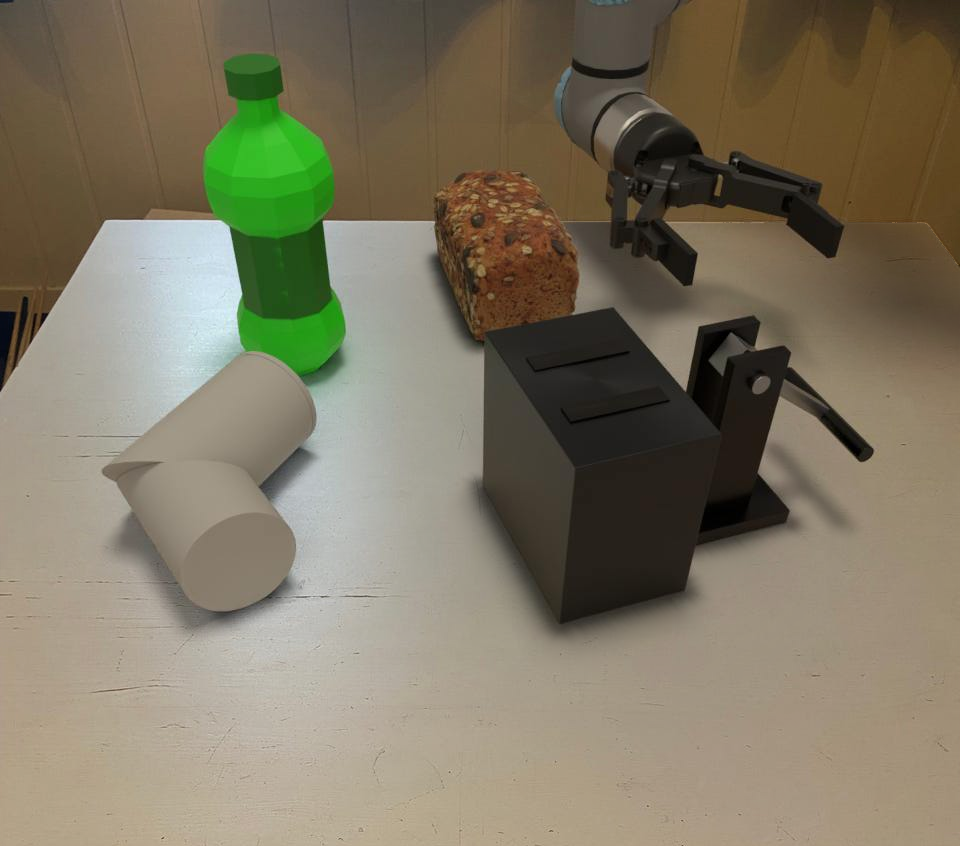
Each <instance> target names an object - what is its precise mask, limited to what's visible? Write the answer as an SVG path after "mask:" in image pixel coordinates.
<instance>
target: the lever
mask: <svg viewBox="0 0 960 846" xmlns="http://www.w3.org/2000/svg"><path fill="white" fill-rule="evenodd" d="M753 351H758V349H757V348H756V346H755V347H754V346H752V345H751V344H749V343H747V342H746V341H744V340H742V339H741V338H739V337H738V336H736V335H734V334H733V333H730V334H729V335H728V336H727V338H726V339H725V340H724V341H723V343H722V344H721V345H720V346H719V348H718V349H717V350H716V351H715V353H714V354H713V355H712V356H711V357H710V359H709V360H708V361H709V362H710V363H711V365H712V366H713V367H714V368H715V369H716V370H717V371H718V372H719V373H720V374H721V376H722V377H723V374H724V370H725V365H726V361H727V357H730V356H734V355H739V354H744V353H749V352H753ZM780 397H781V398H782V399H784V400H785V401H787V402H788V403H791V404H792V405H794V406H796V407H797V408H799V409H801V410H803V411H804V412H806V413H807V414H809V415H811V416H813V417H814V418H816V419H817V420H818V422H820V423H821V424H822V426H823V427H825V429H826V430H827V431H828V432H830V434H831V435H832V436H833V437H835V439H836V441H838V442H839V443H840V444H841V445H842V446H843V447H844V449H846V450H847V451H848V452H849V453H850V454H851V455H852V456H853V457H854V458H855V460H856V461H858V462H859V463H865V462H867V461H869V460H870V459H871V458H872V457H873V455H874V453H875V448H874V447H873V446H871V444H870V443H868V441H867V440H866V439H864V437H862V435H861V434H860V433H859V432H858V431H857V430H856V429H855V428H853V427H852V425H850V424H849V422H847V420H846V419H844V417H842V415H841V414H840V413H838V411H837V410H836V409H834V408H833V406H832V405H830V403H828V401H827V400H825V398H823V396H821V395H820V393H819V392H817V390H816V389H814V388H813V386H812V385H811V384H810V383H808V382H807V381H806V380H805V379H804V377H802V376H801V374H799V373H798V372H797V371H796V370H795V369H794V368H793V367H792V366H788V367H787V371H786V374H785V378H784V381H783V385H782V388H781V392H780V395H779V398H780Z"/></svg>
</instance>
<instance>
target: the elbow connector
mask: <svg viewBox="0 0 960 846" xmlns="http://www.w3.org/2000/svg"><path fill="white" fill-rule="evenodd" d="M316 425H317V409H316V405H315V402H314V399H313V397H312V395H311V392H310V391H309V389H308V387H307V386H306V384H305V383H304V382H303V380H302V379H301V377H300V376H298V375H297V374H296V373H295V372H294V371H293V370H292V369H291V368H290V367H288V366H287V365H286V364H285V363H283V362H282V361H280V360H279V359H277V358H275V357H273V356H271V355H269V354H266V353H263V352H258V351H248V352H246V351H244V352H242V353H240V354H239V355H237V356H236V357H235V358H233V359H232V360H231V361H230V362H229V363H227V364H226V365H225V366H224V367H222V368H221V369H220V370H218V372H216V373H215V374H214V375H213V376H212V377H210V378H209V379H208V380H207V381H205V383H203V384H202V385H201V386H200V387H198V388H197V389H196V390H195V391H193V393H191V394H190V395H189V396H188V397H186V398H185V399H184V400H183V401H181V402H180V403H179V404H178V405H176V406H175V407H174V408H173V409H172V410H171V411H170V412H168V413H167V414H166V415H165V416H164V417H162V418H161V419H160V420H159V421H158V422H156V423H155V424H154V425H153V426H152V427H150V428H149V429H148V430H147V431H146V432H144V433H143V434H142V435H141V436H140V437H138V438H137V439H136V440H135V441H134V442H132V443H131V444H130V445H129V446H128V447H126V448H125V449H124V450H123V451H122V452H121V453H119V454H118V455H117V456H116V457H114V458H113V459H112V460H111V461H110V462H108V463H107V464H106V465H105V466H103V467H102V468H101V474H102V476H103V477H105V478H107V479H108V480H111V481H112V482H115V483H116V486H117V488H118V489H119V491H120V492H121V494H122V496H123V498H124V499H125V500H126V502H127V504H128V505H129V507H130V508H131V511H132V512H133V513H134V515H135V516H136V518H137V519H138V521H139V523H140V524H141V526H142V528H143V530H144V531H145V532H146V534H147V535H148V537H149V539H150V541H151V542H152V543H153V546H154V547H155V549H156V550H157V551H158V553H159V555H160V556H161V558H162V560H163V561H164V563H165V564H166V566H167V567H168V569H169V570H170V572H171V574H172V575H173V577H174V579H175V580H176V582H177V583H178V585H179V586H180V588H181V589H182V591H183V593H184V594H185V596H186V597H187V598H188V599H189V601H191V602H192V603H193V604H194V605H196V606H197V607H199V608H202V609H204V610H208V611H211V612H212V611H213V612H232V611H236V610H241V609H245V608H247V607H249V606H253V605H254V604H256V603H257V602H260V601H262V600H263V599H265V598H266V597H268V596H269V595H270V594H271V593H273V592H274V591H275V590H277V588H278V587H279V586H280V585H281V584H282V582H283V581H284V580H285V579H286V578H287V576H288V574H289V572H290V571H291V568H292V566H293V564H294V561H295V559H296V552H297V541H296V538H295V534H294V532H293V530H292V528H291V527H290V525H289V524H288V523H287V522H286V520H285V519H284V517H283V516H282V515H281V514H280V512H279V511H278V510H277V508H276V507H275V506H274V504H272V502H271V501H270V499H269V498H268V497H267V496H266V494H265V493H264V492H263V491H262V489H261V488H260V486H261V485H262V484H263V483H264V482H265V481H266V480H268V478H269V477H270V476H272V474H273V473H274V472H275V471H276V470H277V469H278V468H280V466H281V465H282V464H283V463H285V461H287V460H288V459H289V457H291V456H292V455H293V454H294V453H295V452H296V451H297V449H299V448H300V447H301V446H302V445H303V444H304V443H305V442H306V441H307V440H308V439H309V438H311V436H312V434H313V433H314V431H315V429H316Z"/></svg>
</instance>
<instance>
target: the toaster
mask: <svg viewBox="0 0 960 846" xmlns="http://www.w3.org/2000/svg"><path fill="white" fill-rule="evenodd" d="M483 344H484V345H483V347H484V348H483V361H484V362H483V427H482V428H483V429H482V431H483V432H482V434H483V435H482V436H483V437H482V439H483V440H482V488H483V489H484V491H485V493H486V494H487V497H488V498H489V500H490V502H491V503H492V505H493V507H494V509H495V510H496V512H497V514H498V516H499V518H500V520H501V522H502V523H503V525H504V526H505V529H506V530H507V532H508V534H509V536H510V538H511V540H512V541H513V543H514V545H515V546H516V548H517V550H518V552H519V553H520V555H521V557H522V559H523V560H524V563H525V564H526V566H527V568H528V570H529V571H530V573H531V575H532V576H533V578H534V580H535V582H536V584H537V585H538V587H539V589H540V591H541V592H542V595H543V596H544V598H545V600H546V601H547V604H548V605H549V607H550V609H551V611H552V612H553V614H554V616H555V619H556V620H557V621H558V623H559V624H565V623H568V622H571V621H575V620H579V619H582V618H586V617H591V616H594V615H599V614H601V613H605V612H609V611H613V610H616V609H619V608H624V607H627V606H631V605H634V604H638V603H642V602H646V601H649V600H654V599H657V598H661V597H665V596H668V595H671V594H675V593H680V592H683V591H685V590H686V587H687V583H688V579H689V575H690V571H691V568H692V567H691V566H692V562H693V558H694V554H695V551H696V550H695V549H696V546H697V545H696V542H697V537H698V533H699V529H700V525H701V521H702V516H703V512H704V508H705V504H706V500H707V495H708V491H709V487H710V483H711V478H712V474H713V470H714V466H715V462H716V457H717V453H718V449H719V445H720V440H721V436H722V434H721V433H720V432H719V430H718V429H717V428H716V427H715V426H714V425H713V423H712V422H711V421H710V420H709V419H708V417H707V416H706V415H705V414H704V413H703V412H702V410H701V409H700V408H699V407H698V406H697V405H696V403H695V402H694V401H693V400H692V399H691V398H690V396H689V395H688V394H687V393H686V390H685V389H684V388H683V387H682V386H681V384H680V383H679V382H678V381H677V380H676V379H675V377H673V375H672V374H671V372H669V370H668V369H667V368H666V367H665V366H664V364H662V362H661V361H660V360H659V359H658V358H657V356H656V355H655V354H654V353H653V352H652V351H651V349H650V348H649V347H648V346H647V345H646V343H645V342H644V341H643V340H642V339H641V338H640V336H639V335H638V334H637V333H636V332H635V331H634V329H633V328H632V327H631V325H629V324H628V322H627V321H626V320H625V319H624V318H623V317H622V315H621V314H620V313H619V312H618V311H617V310H616V309H615V307H614V306H612V307H607V308H601V309H596V310H591V311H586V312H580V313H576V314H571V315H570V316H564V317H559V318H554V319H549V320H543V321H538V322H533V323H528V324H523V325H517V326H512V327H507V328H502V329H497V330H491V331H486V332H485V335H484V343H483Z"/></svg>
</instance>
